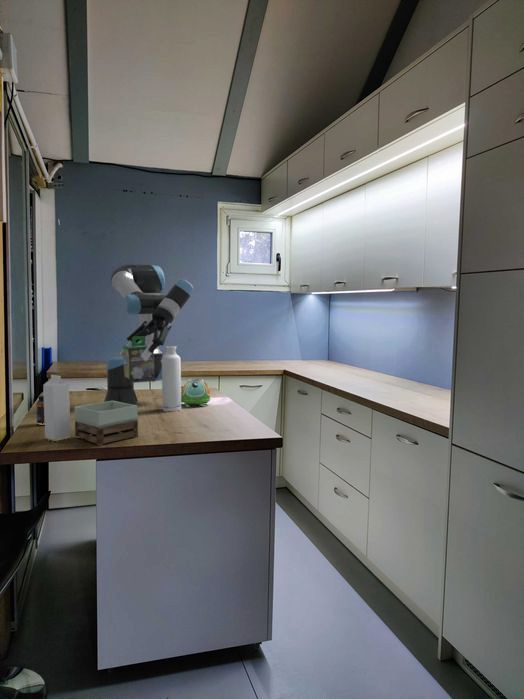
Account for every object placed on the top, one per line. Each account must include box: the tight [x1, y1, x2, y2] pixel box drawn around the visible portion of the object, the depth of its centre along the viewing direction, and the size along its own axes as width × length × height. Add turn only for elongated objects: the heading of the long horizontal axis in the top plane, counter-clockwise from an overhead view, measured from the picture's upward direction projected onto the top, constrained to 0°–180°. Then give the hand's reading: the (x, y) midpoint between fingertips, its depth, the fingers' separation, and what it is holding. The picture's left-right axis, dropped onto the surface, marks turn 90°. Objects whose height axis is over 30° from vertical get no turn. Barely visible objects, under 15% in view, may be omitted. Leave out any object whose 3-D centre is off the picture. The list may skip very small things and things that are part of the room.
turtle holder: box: [181, 378, 211, 408], centre depth 233 cm, size 12×18×12 cm
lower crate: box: [74, 419, 139, 446], centre depth 174 cm, size 15×15×6 cm
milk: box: [42, 374, 71, 440], centre depth 171 cm, size 6×6×22 cm
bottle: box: [161, 345, 182, 412], centre depth 222 cm, size 8×8×28 cm
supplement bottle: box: [35, 394, 45, 424], centre depth 194 cm, size 6×6×11 cm
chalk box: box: [122, 336, 155, 380], centre depth 180 cm, size 9×9×15 cm
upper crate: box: [74, 401, 139, 427], centre depth 173 cm, size 15×15×5 cm
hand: (132, 357), depth 178 cm, fingers closed on chalk box, 11 cm apart
